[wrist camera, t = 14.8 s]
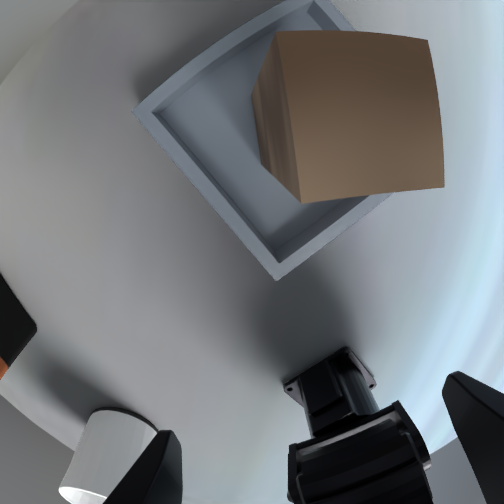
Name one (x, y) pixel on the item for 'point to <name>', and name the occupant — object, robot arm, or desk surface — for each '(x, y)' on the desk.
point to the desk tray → (246, 141)
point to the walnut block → (348, 114)
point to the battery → (12, 328)
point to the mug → (105, 454)
